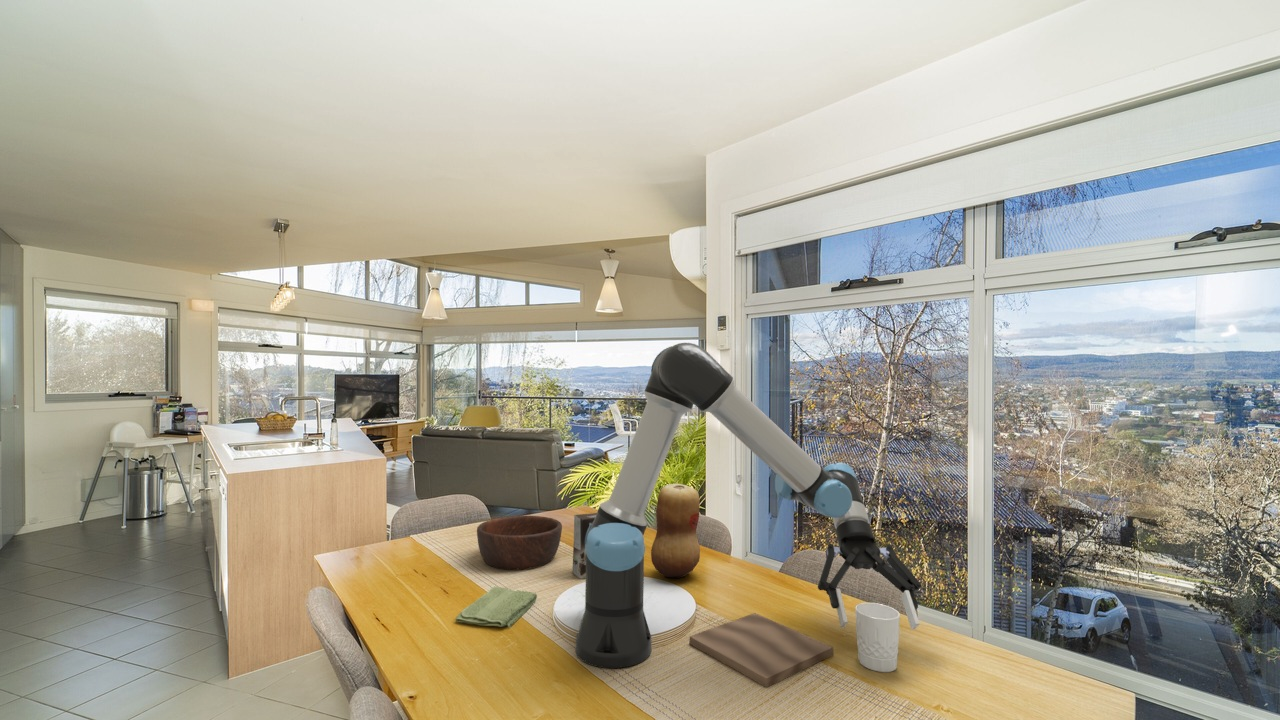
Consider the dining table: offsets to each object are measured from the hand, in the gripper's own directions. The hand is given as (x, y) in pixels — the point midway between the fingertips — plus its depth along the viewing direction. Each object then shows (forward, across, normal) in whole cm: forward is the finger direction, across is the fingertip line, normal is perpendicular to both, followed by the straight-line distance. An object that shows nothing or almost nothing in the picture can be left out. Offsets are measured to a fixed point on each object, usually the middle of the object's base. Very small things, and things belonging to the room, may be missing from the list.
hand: (879, 625), depth 107 cm
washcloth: (-7, +80, -17) cm, 82 cm away
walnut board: (+2, +22, -7) cm, 24 cm away
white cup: (+6, +1, -4) cm, 7 cm away
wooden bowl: (-34, +85, -44) cm, 102 cm away
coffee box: (-27, +62, -36) cm, 77 cm away
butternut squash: (-26, +38, -36) cm, 59 cm away
